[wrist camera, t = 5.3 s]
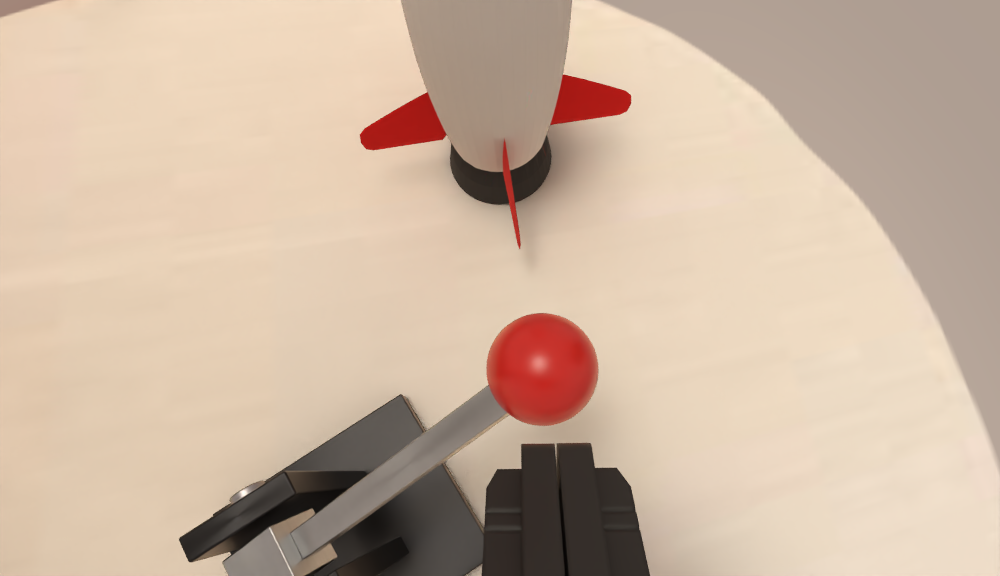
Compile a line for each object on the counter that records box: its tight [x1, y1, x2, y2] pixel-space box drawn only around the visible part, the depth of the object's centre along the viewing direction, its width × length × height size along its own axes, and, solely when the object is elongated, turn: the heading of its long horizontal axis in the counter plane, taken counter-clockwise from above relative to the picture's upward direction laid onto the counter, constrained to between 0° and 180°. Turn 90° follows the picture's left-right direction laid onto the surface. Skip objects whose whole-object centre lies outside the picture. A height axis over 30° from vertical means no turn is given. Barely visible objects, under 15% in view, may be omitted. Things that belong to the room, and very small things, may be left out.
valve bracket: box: [179, 394, 484, 576], centre depth 28 cm, size 12×10×13 cm
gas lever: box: [223, 313, 598, 576], centre depth 22 cm, size 16×4×4 cm, turn 122°
